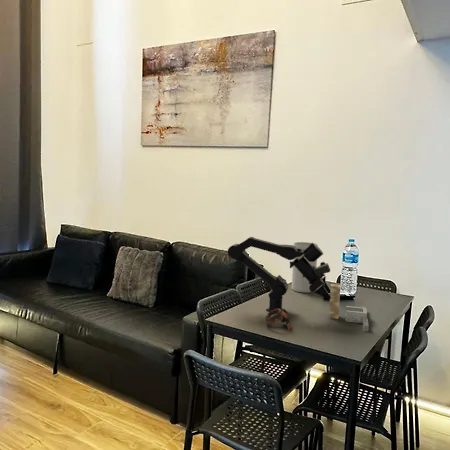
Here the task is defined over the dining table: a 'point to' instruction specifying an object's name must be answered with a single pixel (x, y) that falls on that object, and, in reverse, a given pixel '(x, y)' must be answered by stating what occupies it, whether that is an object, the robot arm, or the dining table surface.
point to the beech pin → (334, 301)
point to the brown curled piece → (278, 317)
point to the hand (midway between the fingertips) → (330, 295)
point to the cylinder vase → (297, 279)
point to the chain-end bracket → (357, 316)
